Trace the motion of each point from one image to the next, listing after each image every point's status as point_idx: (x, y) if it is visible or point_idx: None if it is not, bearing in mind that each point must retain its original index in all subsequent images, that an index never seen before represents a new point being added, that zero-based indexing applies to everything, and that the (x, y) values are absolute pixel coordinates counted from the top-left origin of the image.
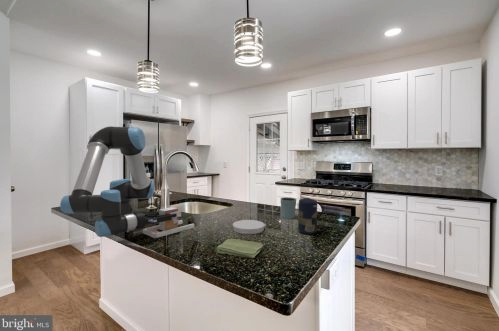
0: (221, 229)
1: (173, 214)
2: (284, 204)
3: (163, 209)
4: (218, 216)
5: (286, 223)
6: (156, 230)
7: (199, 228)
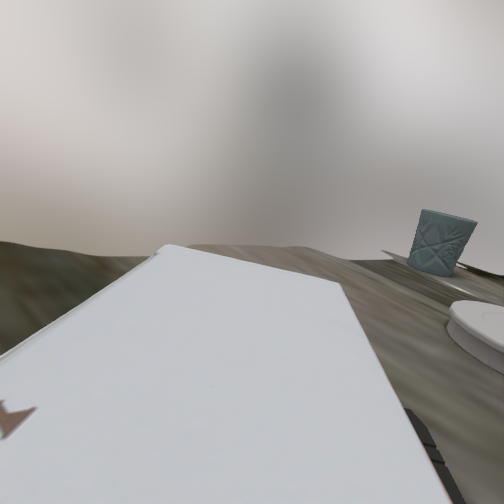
0: (484, 396)
1: (439, 474)
2: (456, 232)
3: (133, 400)
4: None
5: (495, 299)
6: None
7: None
